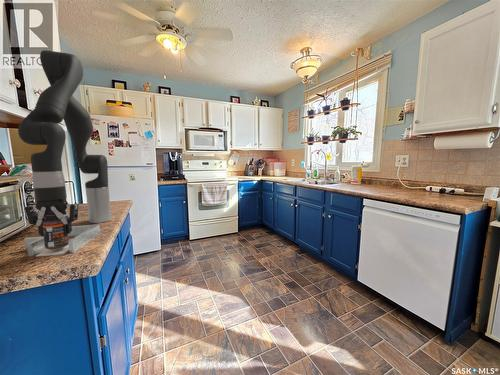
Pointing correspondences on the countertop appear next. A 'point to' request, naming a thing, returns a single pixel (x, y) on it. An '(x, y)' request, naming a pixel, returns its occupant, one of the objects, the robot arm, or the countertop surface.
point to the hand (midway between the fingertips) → (56, 234)
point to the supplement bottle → (54, 233)
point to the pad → (54, 251)
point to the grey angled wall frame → (80, 239)
